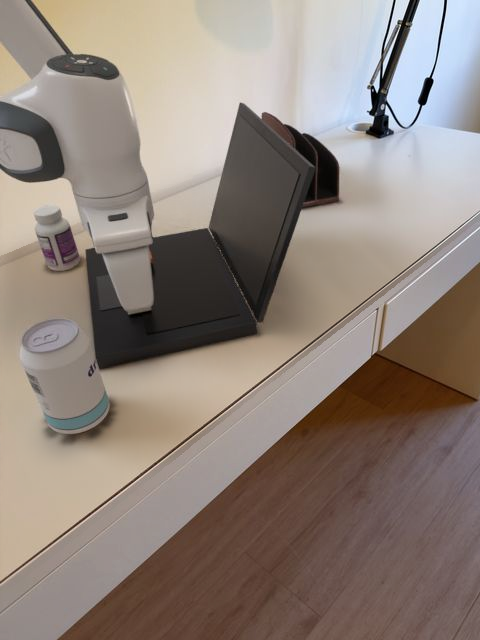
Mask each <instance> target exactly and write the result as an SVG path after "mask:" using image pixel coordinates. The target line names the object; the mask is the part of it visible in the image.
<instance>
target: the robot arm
mask: <svg viewBox="0 0 480 640" xmlns="http://www.w3.org/2000/svg"><path fill="white" fill-rule="evenodd" d="M0 43H1V45H2V46H3V48H4V49H5V50H6V51H7V52H8V53H9V55H10V56H11V57H12V58H13V59H14V60H15V62H16V63H17V65H18V66H19V67H20V68H21V69H22V71H24V73H25V74H26V75H27V76H28V77H29V78H30V80H29V81H27V82H26V83H24V84H22V85H21V86H18V87H17V88H14V89H13V90H10V91H8V92H6V93H3V94H2V95H0V170H1V171H2V172H3V173H4V174H6V175H8V176H9V177H11V178H12V179H15V180H17V181H19V182H22V183H29V184H32V183H33V184H34V183H44V182H50V181H55V180H58V179H64V180H67V181H68V182H69V184H70V186H71V190H72V195H73V197H74V201H75V205H76V208H77V212H78V215H79V219H80V222H81V226H82V228H83V229H84V230H85V231H86V232H87V234H88V235H89V236H90V238H91V241H92V244H93V248H95V250H96V252H97V253H98V254H101V253H102V256H103V259H104V262H105V264H106V267H107V270H108V272H109V275H110V278H111V280H112V283H113V286H114V288H115V291H116V293H117V296H118V299H119V301H120V303H121V305H122V307H123V308H124V310H125V311H134V310H140V309H144V308H149V307H151V306H152V305H153V302H154V292H153V280H152V270H151V260H150V251H149V245H150V244H152V243H153V239H152V238H153V231H152V225H153V219H155V218H154V217H155V211H154V204H153V199H152V194H151V188H150V185H149V178H148V174H147V171H146V169H145V167H144V165H143V162H142V159H141V145H142V143H141V141H142V140H141V135H140V131H139V125H138V121H137V117H136V111H135V107H134V104H133V100H132V98H131V94H130V91H129V88H128V85H127V83H126V80H125V78H124V76H123V75H122V73H121V71H120V69H119V68H118V66H117V65H115V63H113V62H111V61H109V60H108V59H106V58H104V57H102V56H98V55H94V54H86V53H80V54H79V53H73V52H72V50H71V49H70V48H69V47H68V46H67V44H66V43H65V41H63V39H62V38H61V37H60V35H59V34H58V33H57V31H56V30H55V29H54V27H52V25H51V24H50V23H49V21H48V20H47V18H46V17H45V16H44V15H43V14H42V12H41V11H40V9H38V7H37V6H36V4H35V3H34V2H33V1H32V0H0Z"/></svg>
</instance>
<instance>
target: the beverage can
mask: <svg viewBox="0 0 480 640" xmlns="http://www.w3.org/2000/svg"><path fill="white" fill-rule="evenodd" d="M20 343H21V347H20V349H19V360H20V363H21V365H22V368H23V370H24V372H25V374H26V376H27V379H28V382H29V384H30V386H31V388H32V390H33V393H34V395H35V397H36V400H37V403H38V404H39V406H40V409H41V411H42V413H43V416H44V418H45V420H46V422H47V424H48V426H49V428H50V429H51V430H53V431H54V432H57V433H59V434H64V435H76V434H81V433H84V432H86V431H89V430H91V429H93V428H95V427H96V426H97V425H99V424H100V423H102V422H103V420H104V419H105V418H107V417H106V416H107V415H108V413H109V411H110V408H111V407H110V404H111V403H110V400H109V396H108V393H107V391H106V387H105V383H104V381H103V377H102V375H101V372H100V369H99V367H98V364H97V361H96V358H95V352H94V349H93V347H92V344H91V341H90V338H89V335H88V334H87V333H86V332H85V331H84V330H83V329H81V328H80V327H79V326H78V324H77V323H76V322H75V321H74V320H72V319H69V318H65V317H55V318H54V317H53V318H49V319H44V320H42V321H39V322H37V323H35V324H33V325H31V326H30V327H28V328H27V329H26V330H25V331H24V332H23V334H22V336H21V337H20Z"/></svg>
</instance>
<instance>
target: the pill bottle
mask: <svg viewBox="0 0 480 640" xmlns="http://www.w3.org/2000/svg"><path fill="white" fill-rule="evenodd" d="M33 215H34V216H33V217H34V220H35V221H36V224H35V226H34V231H35V235H36V238H37V240H38V243H39V246H40V248H41V252H42V254H43V257H44V260H45V263H46V265H47V267H48V268H49V269H51V270H52V271H55V272H63V271H68V270H71V269H73V268H75V267H76V266H78V265H79V264H80V261H81V257H80V254H79V250H78V247H77V244H76V241H75V237H74V233H73V231H72V228H71V225H70V222H69V220H68V219H66V218H65V217H63V213H62V211H61V208H60V206H58V205H56V204H48V205H43V206H40V207H38V208H36V209H35V210H34V211H33Z"/></svg>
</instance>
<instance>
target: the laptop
mask: <svg viewBox="0 0 480 640" xmlns="http://www.w3.org/2000/svg"><path fill="white" fill-rule="evenodd" d="M152 239H153V243H152V244H150V245H149V249H150V252H151V256H152V259H153V263H151V270H152V280H153V292H154V302H153V305H152V306H151V310H149V311H144V312H139V313H134V314H129V315H128V312H127V311H125V310H124V308H123V307H122V305H121V303H120V301H119V299H118V296H117V293H116V291H115V288H114V286H113V283H112V280H111V278H110V275H109V272H108V270H107V267H106V264H105V262H104V259H103V256H102V253H101V254H98V253H97V252H96V250H95V248H94V247H91V248H86V249H85V259H86V271H87V281H88V282H87V283H88V292H89V302H90V314H91V324H92V335H93V346H94V356H95V359H96V362H97V365H98V368H99V370H101V369H104V368H105V369H106V368H109V367H113V366H119V365H124V364H127V363H132V362H138V361H142V360H145V359H151V358H154V357H159V356H164V355H168V354H174V353H177V352H183V351H187V350H191V349H196V348H200V347H205V346H209V345H214V344H218V343H222V342H226V341H227V342H228V341H233V340H237V339H241V338H245V337H249V336H254V335H257V334H258V327H257V326H258V325H257V323H258V322H257V320H256V318H255V316H254V315H253V313H252V311H251V309H250V307H249V305H248V303H247V301H246V299H245V297H244V295H243V293H242V291H241V289H240V288H239V286H238V284H237V282H236V280H235V278H234V276H233V274H232V272H231V270H230V268H229V266H228V264H227V263H226V261H225V259H224V257H223V255H222V253H221V251H220V249H219V247H218V245H217V243H216V241H215V239H214V237H213V236H212V234H211V232H210V230H209V228H208V227H205V228H200V229H193V230H188V231H183V232H176V233H171V234H165V235H160V236H159V235H158V236H152Z"/></svg>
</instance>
